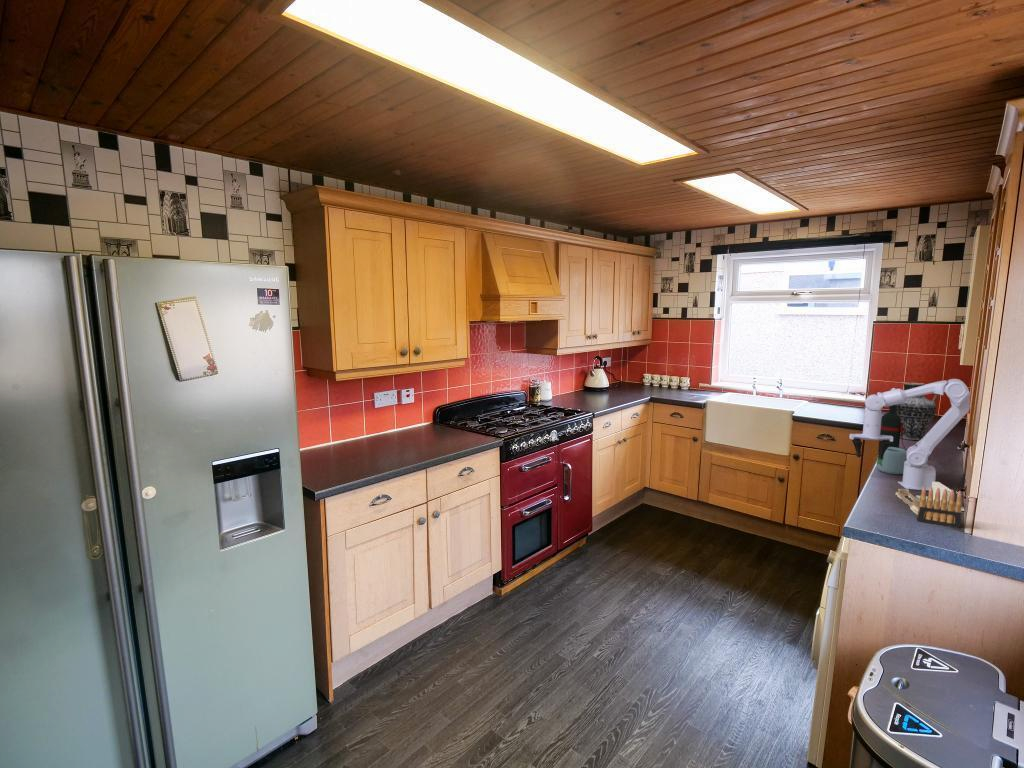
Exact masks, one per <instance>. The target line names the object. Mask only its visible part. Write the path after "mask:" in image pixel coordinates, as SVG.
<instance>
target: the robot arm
mask: <svg viewBox="0 0 1024 768" xmlns="http://www.w3.org/2000/svg"><path fill="white" fill-rule="evenodd" d="M944 393H945V395H947V397H948V399H949V402H950V405H951V406H950V408H949V409H948V410H947V411H946V412H945V413H944V414H943V415H942V416H941V418H940V419H939V420H937V422H936V423H935V424H934V425H933V426H932V428H930V430H929V431H928V432H926V433H925V435H924V437H923V438H922V439H921V440H917V442H916V443H915V444H914V445H910V446H909V447H908V448H907V450H906V454H907V461H905V462H904V471H903V474H902V481H897V483H898V484H899V485H900V486H902V487H903V489H908V490H916V491H917V490H918V491H922V488H923V486H925V488H926V491H927V492H929V489H930V487H932V482H936V477H937V476H936V475H937V471H936V468H935V467H934V466H933V465H929V464H928V463H927V462H928V461H929V460H928V458H929V456H930V455H931V454H932V452H933V450H934V449H935V447H937V446H938V445H939V443H940V442H941V441H942V440H943V439H944V438H945V437H946V436H947V435H948V434H949V433H950V431H951V430H952V429H954V428H955V426H956V425H958V424H959V422H960V421H961V420H963V418H964V417H965V416H966V415H967V413H969V412H970V410H971V409H970V407H971V406H970V405H971V404H970V403H971V399H970V398H971V392H970V390H969V387H968V386H967V385H966V384H965V382H964V381H962V380H961V379H958V378H950V379H948V380H946V379H945V380H939V381H934V382H931V383H927V384H926V383H925V385H923V386H919V387H916V388H912V389H908V390H905V389H902V388H895V387H893V388H891V389H890V390H888V391H884V392H880V391H879V392H876V394H875V393H874V394H869V395H868V396H867V397H866V399H865V400H864V405H865V408H864V413H863V414H864V415H863V425H862V426H863V428H862V433H849V440H851V441H852V444H853V446H854V449H855V453H856V457H857V458H861V456H862V455H861V453H862V451H861V450H862V447H863V442H862V441H878V447H879V454H878V453H877V458H878V457H879V458H880V459H882V458H883V455H884V453H885V451H886V450H887V448H888V447H889V446H890V444H891V443H890V441H891V442H893V437H892V436H886V435H880V429H881V418H882V416H883V414H882V408H883V407H885V408H888V407H890V406H892V405H896V404H901V403H905V401H906V400H907V399H908V398H912V397H916V396H921V395H924V396H925V395H929V394H934V395H935V394H939V395H941V396H944Z"/></svg>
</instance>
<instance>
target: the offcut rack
mask: <svg viewBox="0 0 1024 768" xmlns="http://www.w3.org/2000/svg"><path fill="white" fill-rule="evenodd" d="M896 495H897V497H898V499H900V500H901V499H902V500H903V501H902V500H901V501H902V502H903V503H905V505H907V504H908V505H907V506H909V509H910V510H911V511H912V512H913V513H914V514H916V515H917V516H918V510H919V502H920V500H919V499H918V498H917V497H916V495H915V496H914V495H913V494H912V493H911V492H910V489H906V488H898V491H896V492H895V496H896ZM905 496H908V497H907V498H906V497H905ZM908 498H911V499H910V500H909V499H908ZM911 500H912V501H911ZM926 503H927V502H926ZM925 512H926V511H925ZM932 514H933V512H932Z"/></svg>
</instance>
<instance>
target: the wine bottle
mask: <svg viewBox="0 0 1024 768" xmlns="http://www.w3.org/2000/svg"><path fill="white" fill-rule="evenodd" d="M888 407H889V408H888V412H886V413H884V414H882V418H881V429H880V435H886V436H892V437H893V442H891V441H890V443H891V444H890V446H889V447H896V448H900V440H901V445H902V446H903V449H906V447H905V445H904V438H903V435H902V438H901V437H900V433H901V434H902V432H903V431H904V427H903V425H901V418H900V416H899V415H897V414H896V413H895V405H892V406H888ZM878 454H879V446H878V449H877V455H878Z"/></svg>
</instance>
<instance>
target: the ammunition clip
mask: <svg viewBox="0 0 1024 768" xmlns="http://www.w3.org/2000/svg"><path fill="white" fill-rule="evenodd" d="M951 490H952V491H951V493H950V497H949V501H948V507H947V490H946V489H945V490H944V491H943V495H942V500H941V505H940V489H939V488H938V489H937V490H936V494H935V499H934V505H933V488H932V487H930V489H929V491H928V494H927V490H926V488H925V486H923V488H922V490H921V493H920V496H921V497H920V502H919V510H918V515H917V517H916V522H919V523H923V524H930V525H935V524H936V526H942V525H943V526H942V527H948V526H951V527H950V528H954V527H960V528H961V521H962V512H961V508H962V507H963V503H962V498H963V497H962V494H963V493H962V491H961V490H958V492H957V495H956V499H955V491H954V489H951ZM926 496H928V498H927V503H926ZM954 505H955V509H954ZM925 511H926V512H925ZM932 512H933V514H932Z"/></svg>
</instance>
